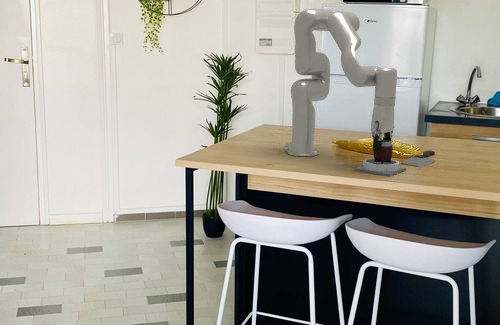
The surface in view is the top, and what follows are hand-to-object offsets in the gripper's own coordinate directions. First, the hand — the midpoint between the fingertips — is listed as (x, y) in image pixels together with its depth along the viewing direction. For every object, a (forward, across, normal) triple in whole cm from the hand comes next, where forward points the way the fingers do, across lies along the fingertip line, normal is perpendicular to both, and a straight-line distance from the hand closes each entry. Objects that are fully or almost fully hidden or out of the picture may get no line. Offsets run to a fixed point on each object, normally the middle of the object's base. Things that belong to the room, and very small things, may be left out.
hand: (381, 149), depth 223 cm
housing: (+8, 0, 0) cm, 8 cm away
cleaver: (+9, -31, +3) cm, 32 cm away
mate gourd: (+5, 0, 0) cm, 5 cm away
